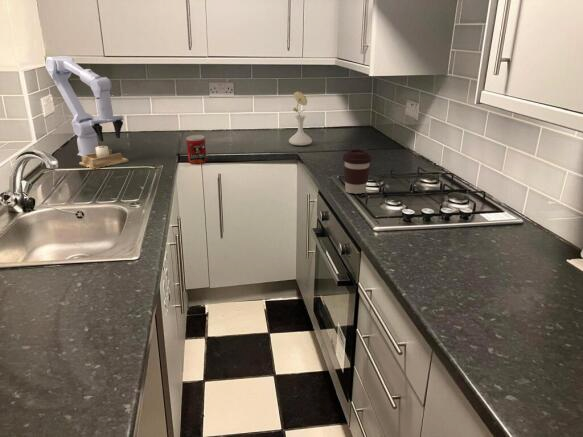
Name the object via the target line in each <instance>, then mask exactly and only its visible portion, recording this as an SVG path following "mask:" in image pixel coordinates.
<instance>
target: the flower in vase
mask: <svg viewBox="0 0 583 437" xmlns="http://www.w3.org/2000/svg"><path fill="white" fill-rule="evenodd" d="M293 97H294V99H295V101H296V102H297V105H296V107H293V109H292V111H294V112H295V113H297V114H298V115H295V118H296V120H297V121H296V122H297V127H298V128H297V131H296V133H295V134H294V135H292V136H291V137H290V138H289V139H288V143H289V144H291V145H292V146H309V145H310V144H312V142H313V140H312V138H311V137H310V136H309V135H307V133H305V132H304V120H305V118H306V117H307V116H306V115H303V114H301V113H302V112H305V109H303V110H301V111H299V110H298V109H299V108H298V107H299V105H301V106H306V105H308V99H307V97H306V95H304V93H302V92H301V91H295V92H293Z"/></svg>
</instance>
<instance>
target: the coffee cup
mask: <svg viewBox="0 0 583 437" xmlns="http://www.w3.org/2000/svg"><path fill="white" fill-rule="evenodd" d="M342 160H343V162H344V165H343V169H344V170H343V172H344V173H343V174H344V175H343V176H344V184H345V185H344V186H345V188H344V190H345V193H346V192H348V193H364V194H365V193H366V191H367V184H368V180H369V176H370V175H369V174H370V163H371V162H372V160H373V157H372V154H369V153H368V151H367V150H365V149H360V148H359V149H358V148H354V149H349V150H348V151H347V153H344V154H343V155H342ZM348 193H347V194H348Z"/></svg>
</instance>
